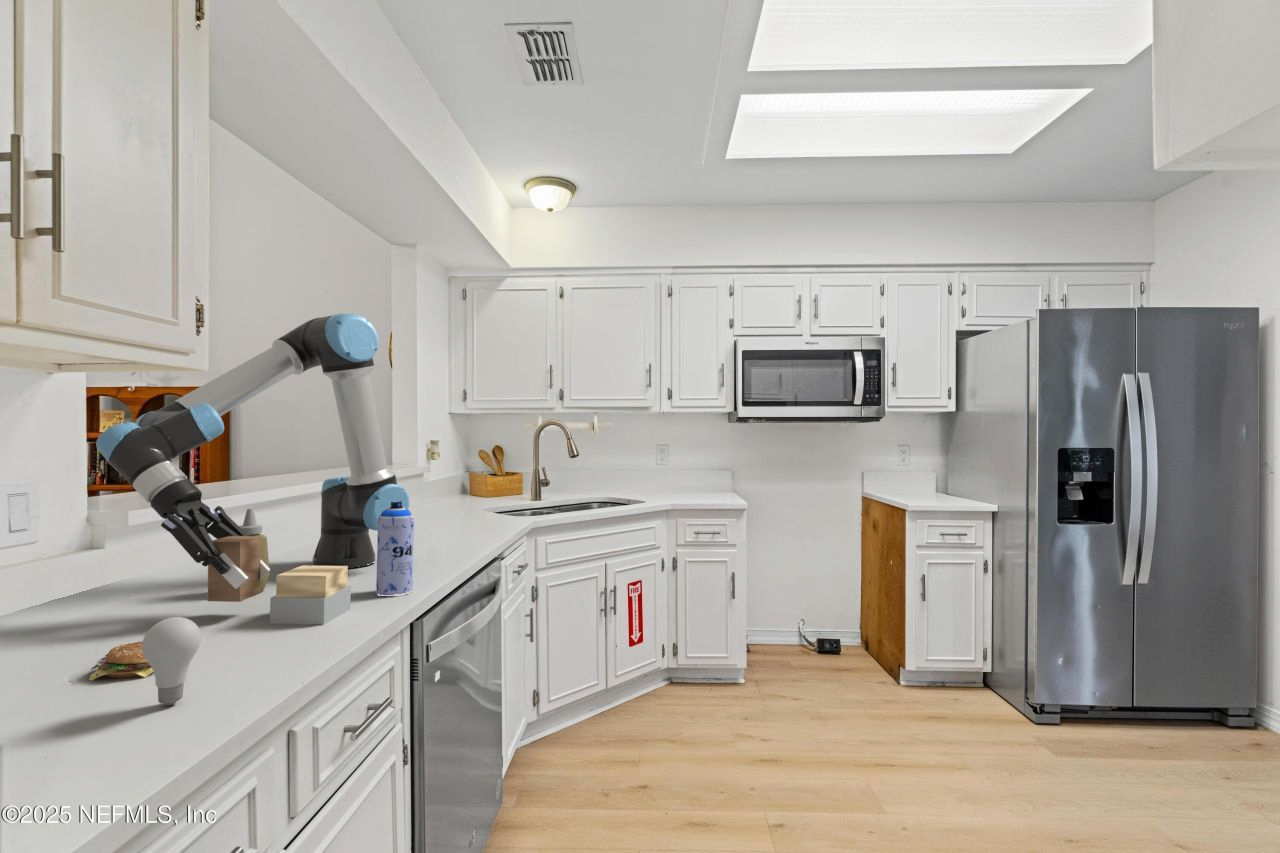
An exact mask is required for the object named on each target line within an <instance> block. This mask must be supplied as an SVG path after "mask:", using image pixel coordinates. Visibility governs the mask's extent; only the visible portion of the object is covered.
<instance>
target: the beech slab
mask: <svg viewBox="0 0 1280 853" xmlns="http://www.w3.org/2000/svg"><path fill="white" fill-rule="evenodd" d="M348 574H349V569H348V566H313V565H305V564H304V565H300V566H297V567H294V568H292V569H290V570H287V571H284V572H282V573H279V574H277V575H276V581H275V582H276V587H275V591H276V593H275V596H276V597H294V598H326V597H328V596H330V595H332V594H334V593H336V592H338V591H340V590H342V589H343V588H345V587H347V586H349V584H348V583H349V582H348V579H349V578H348V577H349V576H348Z"/></svg>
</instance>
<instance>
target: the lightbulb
mask: <svg viewBox="0 0 1280 853" xmlns="http://www.w3.org/2000/svg"><path fill="white" fill-rule="evenodd" d="M142 641H143V642H142V652H143V655H144V657H145V658H146V660H147V662H148V663H149V664H150V666H151V667H152V669H153V671H154V673H153V674H154V675H153V676H154V677H155V686H156V687H157V697H158V698H157V699H158V700H157V701H158V703H160V704H163V705H165V706H167V707H168V706H172V705H173V706H174V705H175V704H176V703H177V702H178V701H180V700H181V699H182V698H183V695H184V686H185V682H186V681H187V675H188V674H187V673H188V671H189V666H190V665H191V662H192V660H193V658H194V657H195V655H196V653H197V652H198V650H199V648H200V646H201V643H202V633H201V630H200V627H199V626H198V625H197V624H196V623H195V622H194V621H193V620H191V619H189V618H185V617H181V616H177V617H175V616H173V617H169V618H165V619H162V620H160V621H158V622H156V623H155V624H154V625H152V627H150V628H149V630H147V632H146V633H145V635H144V637H143V639H142Z"/></svg>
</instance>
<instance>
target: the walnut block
mask: <svg viewBox="0 0 1280 853" xmlns="http://www.w3.org/2000/svg"><path fill="white" fill-rule="evenodd" d="M212 541H213V543H214V544H215V546H216V548H217V549H218V551H219V555H220V554H221V553H225V554H226V555H227V556H228V557H229V558H230V559H231V560H232V561H233V562H234V563H235V564H236V565H237V566H238V567H239V568H240V569H241V570H242V571H243V573H244V574H245V575H246V576H247V577H248V579H247V580H246V581H245V582H244V583H243V584H242V585H241V586H240V587H239V588H238V589H235V588H234V587H233V586H232V585H231V584H230V583H229V582H228V581H227V580H226V579H225V578H224V577H223V575H222V574H220V573H219V572H218V571H217V570H216V569H215V568H214V567H213V566H212V565H211V564H209V565H208V566H207V602H228V603H229V602H232V603H233V602H235V603H237V602H238V603H239V602H242V601H245V600H248V599H250V598H252V597H254V596H257V595H260V594H261V592H260V550H261V536H228V537H224V538H220V539H216V538H215V539H212Z"/></svg>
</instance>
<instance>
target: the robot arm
mask: <svg viewBox="0 0 1280 853" xmlns="http://www.w3.org/2000/svg"><path fill="white" fill-rule="evenodd" d="M379 341H380V340H379V335H378V332H377V329H375V327H374V325H373V324H372V323H371V322H370V321H369V320H367V319H366V318H365V317H364V316H362V315H359V314H356V313H342V312H341V313H337V314H332V315H327V316H322V317H315V318H312V319H309V320H307V321H305V322H304V323H302V324H300V325H299V326H297V327H296V328H294V329H292V330H291V331H289V332H287V333H286V334H284V335H282V336H280V337H279V338H276V339H275V340H274V341H273V342H272V344H271V345H272V346H271V347H270V348H268V349H267V350H265V351H263V352H261V353H259V354H257V355H256V356H253V357H252V358H250V359H248V360H246V361H245V362H242V363H241V364H239V365H238V366H236V367H234V368H232V369H230V370H228V371H227V372H224V373H223V374H221V375H219V376H218V377H215V378H213V379H211V380H210V381H208V382H206V383H205V384H203V385H201V386H199V387H198V388H196V389H194V390H191V391H190V392H188V393H185V395H183V396H181V397H179V398H178V399H176V400H174V401H173V402H171V403H169V404H167V405H164V406H162V407H161V408H160V409H158V410H153V411H148V412H146V413H144V414H141V415H140V416H139V417H138V418H137V419H136V420H135V422H132V421H125V422H123V423H121V422H120V423H117V424H114V425H112V426H109V427H108V428H107V429H105V430H104V431H103V432H101V434H100V435H99V436H98V438H97V440H96V443H95V444H96V445H95V446H96V448H97V451H99V453H100V454H101V455H102V456H103V458H104V459H105V460H106V461H107V462H108V464H109V465H110V466H111V467H112V468H114V469H115V471H117V472H118V473H119V474H120V475H121V477H123V478H124V480H126V481H127V482H128V484H130V486H131V487H132V488H134V489H135V491H136V492H137V493H138V494H139V495H140V496H141V497H142V498H143V499H144V500H145V501H146V503H148V504H150V507H151V508H152V509H153V511H155V513H157V514H158V515H159V517H161V518H162V519H164V520H163V521H162V523H161V524H160V526H161V527H162V528H163V529H165V530H166V531H167V532H169V533H170V535H172V537H173V538H175V540H176V541H177V542H178V544H179V545H180V546H181V547H182V548H183V549H184V550H185V551H186V552H187V554H188V555H189V556H190V558H192V559H193V561H195V563H197V564H201V565H202V567H203V566H204V567H208V565H209V564H211V565H212V566H213V567H214V568H215V569H216V570H217V571H218V572H219V573H220V574H222V575H223V577H224V578H225V579H226V580H227V581H228V582H229V583H230V584H231V585H232V586H233V587H234V588H235V589H238V588H239V587H240V586H241V585H242V584H243V583H244V582H245V581H246V580H247V579H248V577H247V576H246V575H245V574H244V573H243V571H242V570H241V569H240V568H239V567H238V566H237V565H236V564H235V563H234V562H233V561H232V560H231V559H230V558H229V557H228V556H227V555H226V554H225V553H221V554H220V555H219V551H218V549H217V548H216V546H215V544H214V543H213V541H212V540H213V539H212V538H211V536H212V537H213V538H215V540H216V539H220V538H224V537H228V536H248V535H247V534H246V533H245V532H244V531H243V530H242V529H241V528H240V527H239V526H240V525H238V524H237V523H236V522H235V521H234V520H233V519H232V518H231V517H230V516H229V515H228V514H227V513H226V511H225V510H224V508H223V507H221V506H220V505H218V506H216V507H215V508H210V507H209V506H208V505H207V504H205V503H204V502H202V497H203V496H202V495H203V494H202V491H201V490H200V488H199V487H197V485H195V483H193V481H192V480H190V479H188V476H187V475H186V474H185V472H183V471H182V470H181V469H180V468H179V466H177V465H176V464H175V463H174V462H173V459H175V458H177V457H179V456H181V455H183V454H185V453H187V452H189V451H191V450H193V449H194V450H195V449H196V448H198V447H199V446H202V445H204V444H206V443H208V442H212V440H214V439H216V438H217V437H219V436H221V435H222V434H223V433H224V431H225V424H224V421H223V419H222V416H224V415H225V414H227V413H228V412H230V411H232V410H233V409H235V408H237V407H239V406H240V405H241V404H244V403H246V402H247V401H249V400H251V399H252V398H254V397H256V396H257V395H259V394H260V393H262V392H264V391H265V390H267V389H269V388H270V387H272V386H274V385H276V384H277V383H279V382H281V381H282V380H284V379H285V378H287V377H288V376H291V375H298V376H299V375H302V373H304V372H306V371H308V370H310V369H312V368H315V367H319V366H321V369H322V374H323V375H325V376H326V377H327V378H329V379H330V380H331V384H332V388H333V393H334V394H333V395H334V399H335V403H336V404H335V405H336V407H337V408H336V409H337V413H338V417H339V422H340V427H341V431H342V437H343V442H344V446H345V451H346V456H347V461H348V465H349V471H350V476H343V477H334V478H328V479H325V480H324V481H323V482H322V485H321V486H322V487H321V492H320V495H321V503H320V504H321V509H320V511H321V512H320V513H321V514H320V538H319V540H318V543H317V545H316V548H315V549H314V550H315V551H314V554H313V556H312V566H348V568H349V569H354V568H353V567H358V566H363V565H367V564H370V563H372V562H374V561H375V562H376V553H375V550H374V546H373V543H372V540H371V537H370V533H369V532H370V530H371V531H374V532H375V531H377V532H378V518H379V515H381V513H382V512H383V511H384V510H386V509H388V508H390V507H391V502H400V501H402V507H404V508H405V509H407V510H409V509H410V496H409V494H408V491H407V490H406V489H405V488H403V486H401V485H400V484H398V482H397V477H396V476H397V475H396V471H394V470H392V469H390V467H388V463H387V459H386V452H385V448H384V447H385V446H384V444H383V438H382V434H381V428H380V422H379V417H378V413H377V407H376V403H375V397H374V392H373V387H372V381H371V377H370V373H371V372H372V371H373V369H374V368H375V363H374V362H375V361H374V358H373V357H374V356H376V354H377V351H378V350H379V347H380V346H379V345H380V344H379V343H380V342H379ZM210 535H211V536H210ZM358 568H359V567H358ZM269 571H270V572H271V568H270V566H269V567H268V566H267V565H266V564H265V563H264V562H263V561H262V560H261V559H260V580H261V579H262V578H263V577H264V576H265V575H266V574H267V573H268V572H269Z"/></svg>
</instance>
